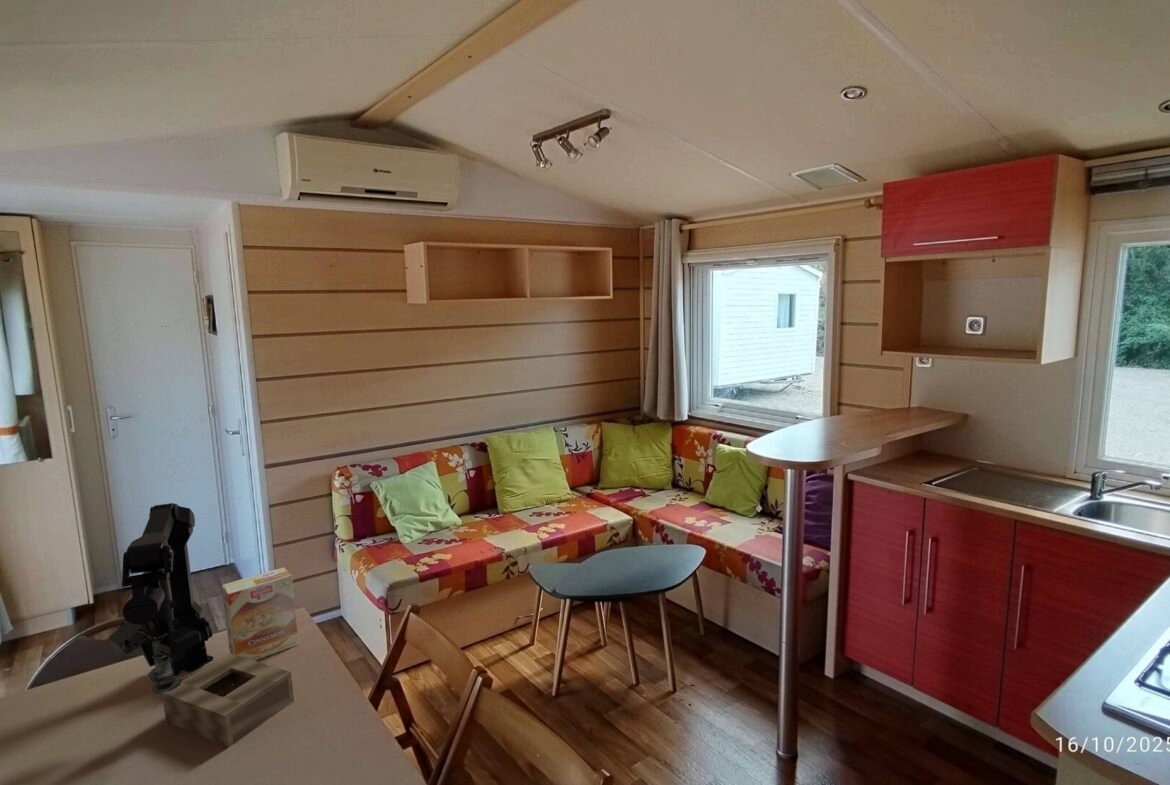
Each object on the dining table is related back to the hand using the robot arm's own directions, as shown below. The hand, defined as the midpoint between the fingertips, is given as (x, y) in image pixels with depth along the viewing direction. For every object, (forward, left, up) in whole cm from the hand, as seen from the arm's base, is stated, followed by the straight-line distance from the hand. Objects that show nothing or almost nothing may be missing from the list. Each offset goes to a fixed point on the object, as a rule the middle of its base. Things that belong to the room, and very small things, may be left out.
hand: (165, 670), depth 134 cm
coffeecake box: (-7, +28, -13) cm, 32 cm away
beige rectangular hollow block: (+7, +8, -13) cm, 17 cm away
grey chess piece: (0, 0, -4) cm, 4 cm away
